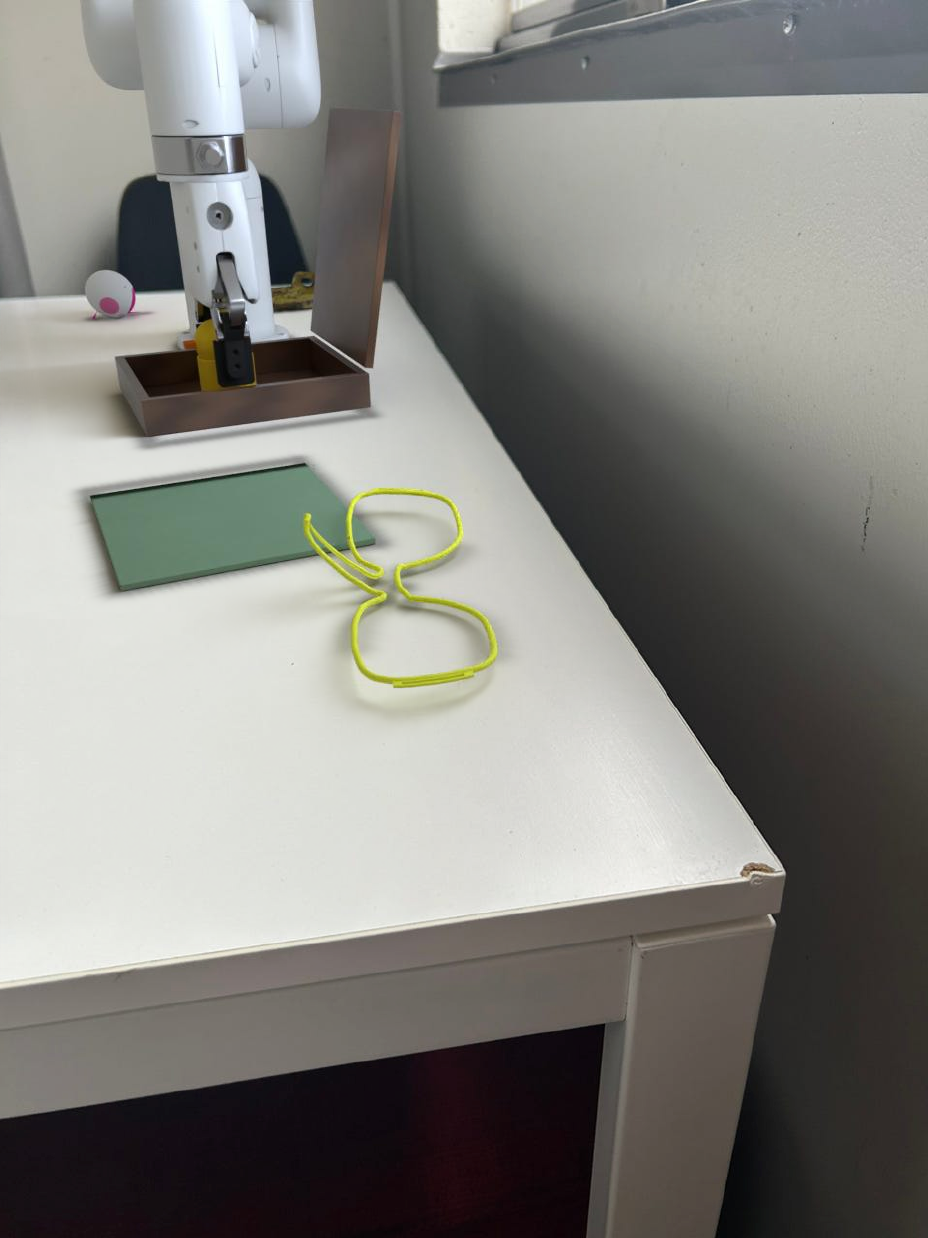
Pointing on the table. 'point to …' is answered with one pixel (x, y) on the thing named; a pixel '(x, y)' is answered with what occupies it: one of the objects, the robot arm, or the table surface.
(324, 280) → the lid
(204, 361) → the duck
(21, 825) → the table surface
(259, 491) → the mat
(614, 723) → the table surface
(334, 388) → the chest
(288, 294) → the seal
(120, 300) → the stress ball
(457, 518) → the glasses
